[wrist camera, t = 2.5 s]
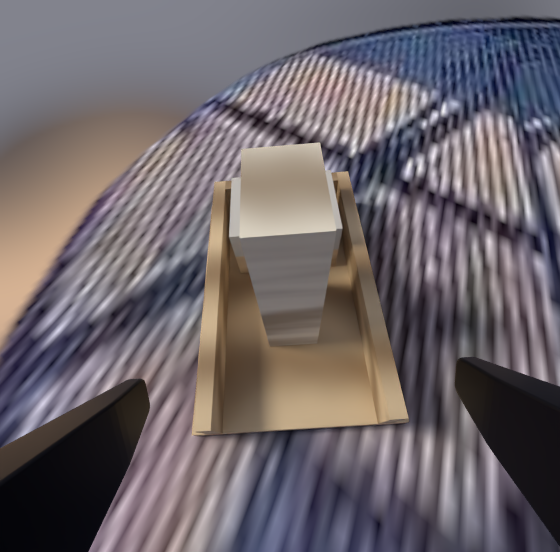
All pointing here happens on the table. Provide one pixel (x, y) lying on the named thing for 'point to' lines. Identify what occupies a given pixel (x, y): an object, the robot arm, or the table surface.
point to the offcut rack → (294, 358)
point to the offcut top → (235, 214)
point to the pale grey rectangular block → (287, 238)
